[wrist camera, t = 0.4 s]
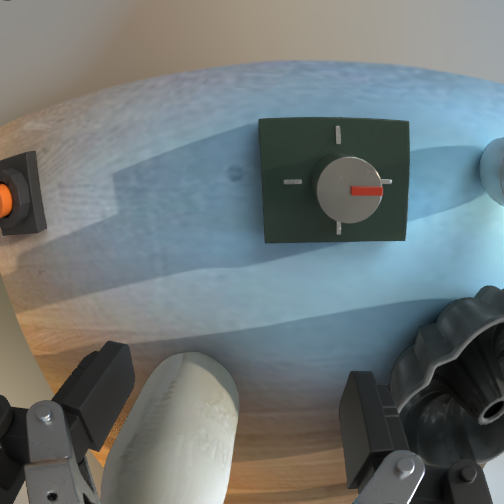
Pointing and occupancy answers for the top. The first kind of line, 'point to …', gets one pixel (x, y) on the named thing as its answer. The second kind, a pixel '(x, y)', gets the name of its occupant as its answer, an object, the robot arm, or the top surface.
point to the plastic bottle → (493, 170)
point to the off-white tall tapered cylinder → (176, 436)
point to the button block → (22, 195)
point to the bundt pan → (455, 383)
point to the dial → (346, 187)
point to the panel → (305, 159)
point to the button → (5, 200)
